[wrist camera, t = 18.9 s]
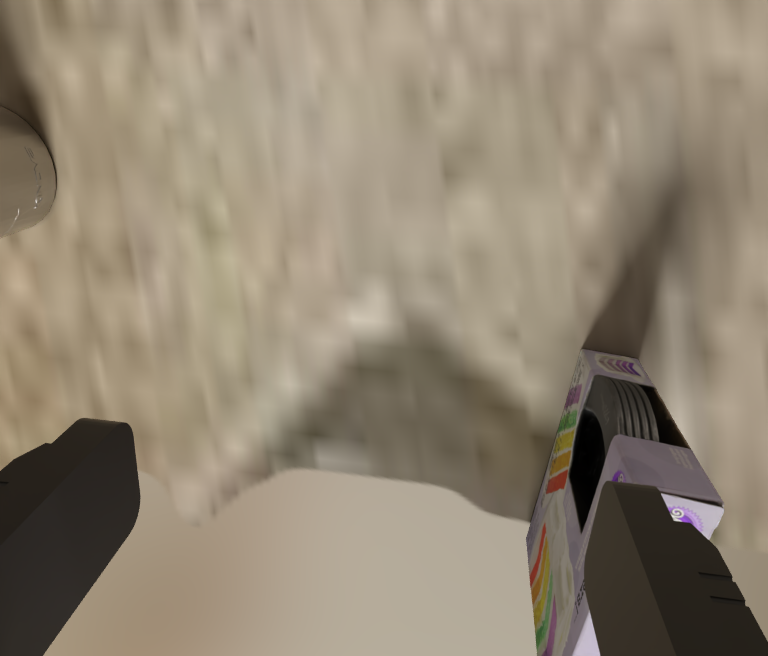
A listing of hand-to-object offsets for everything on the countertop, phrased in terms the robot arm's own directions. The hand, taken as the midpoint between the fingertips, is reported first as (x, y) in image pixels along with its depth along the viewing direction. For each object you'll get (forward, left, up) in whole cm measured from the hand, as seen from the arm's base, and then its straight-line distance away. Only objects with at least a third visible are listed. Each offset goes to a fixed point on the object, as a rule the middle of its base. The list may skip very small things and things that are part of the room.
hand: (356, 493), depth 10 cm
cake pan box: (+13, -20, -34) cm, 42 cm away
